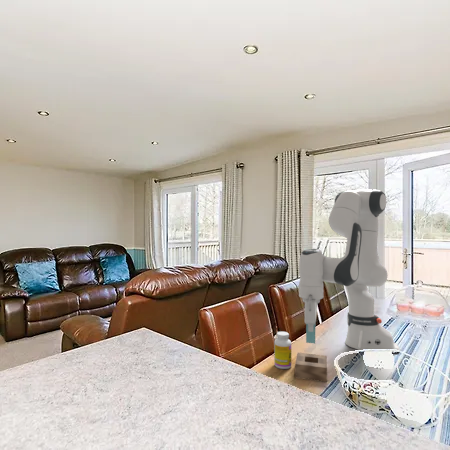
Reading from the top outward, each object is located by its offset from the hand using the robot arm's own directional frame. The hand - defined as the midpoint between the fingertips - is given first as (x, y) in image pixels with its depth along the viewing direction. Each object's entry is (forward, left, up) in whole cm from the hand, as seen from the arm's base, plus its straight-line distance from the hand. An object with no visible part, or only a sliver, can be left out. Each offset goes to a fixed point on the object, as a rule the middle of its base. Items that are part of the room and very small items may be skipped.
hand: (311, 329), depth 118 cm
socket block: (0, 0, -16) cm, 16 cm away
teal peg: (0, 0, -5) cm, 5 cm away
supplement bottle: (+11, -3, -17) cm, 20 cm away
